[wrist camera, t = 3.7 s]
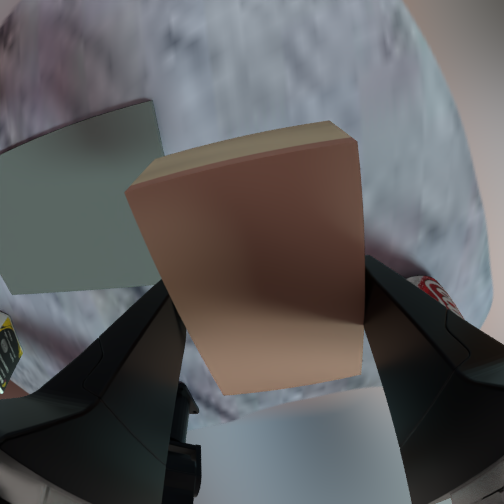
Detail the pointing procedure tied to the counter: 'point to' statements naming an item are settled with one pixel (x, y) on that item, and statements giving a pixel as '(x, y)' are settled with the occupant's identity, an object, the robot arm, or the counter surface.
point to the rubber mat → (77, 205)
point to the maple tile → (262, 253)
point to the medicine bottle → (8, 350)
